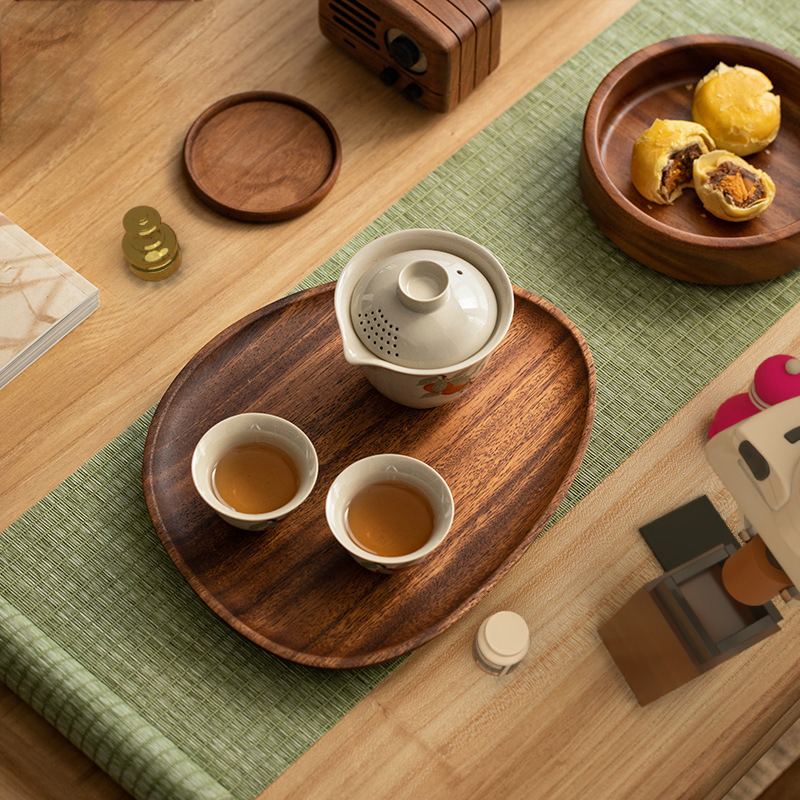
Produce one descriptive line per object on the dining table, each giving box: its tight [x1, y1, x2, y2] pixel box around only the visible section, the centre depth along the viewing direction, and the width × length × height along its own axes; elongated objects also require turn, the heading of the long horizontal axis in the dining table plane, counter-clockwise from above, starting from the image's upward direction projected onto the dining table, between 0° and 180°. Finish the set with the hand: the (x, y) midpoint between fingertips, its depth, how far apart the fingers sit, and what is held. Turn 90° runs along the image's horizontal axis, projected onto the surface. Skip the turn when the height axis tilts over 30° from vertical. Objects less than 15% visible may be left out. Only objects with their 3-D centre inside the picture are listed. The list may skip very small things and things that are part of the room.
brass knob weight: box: [121, 204, 182, 282], centre depth 124 cm, size 7×7×10 cm
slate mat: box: [638, 494, 743, 573], centre depth 112 cm, size 10×10×1 cm
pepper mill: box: [708, 353, 800, 441], centre depth 110 cm, size 7×7×20 cm
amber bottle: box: [722, 534, 794, 606], centre depth 77 cm, size 5×5×9 cm
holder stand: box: [596, 543, 785, 708], centre depth 96 cm, size 10×10×23 cm
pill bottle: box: [471, 610, 531, 677], centre depth 101 cm, size 6×6×10 cm
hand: (767, 564), depth 77 cm, fingers closed on amber bottle, 5 cm apart
